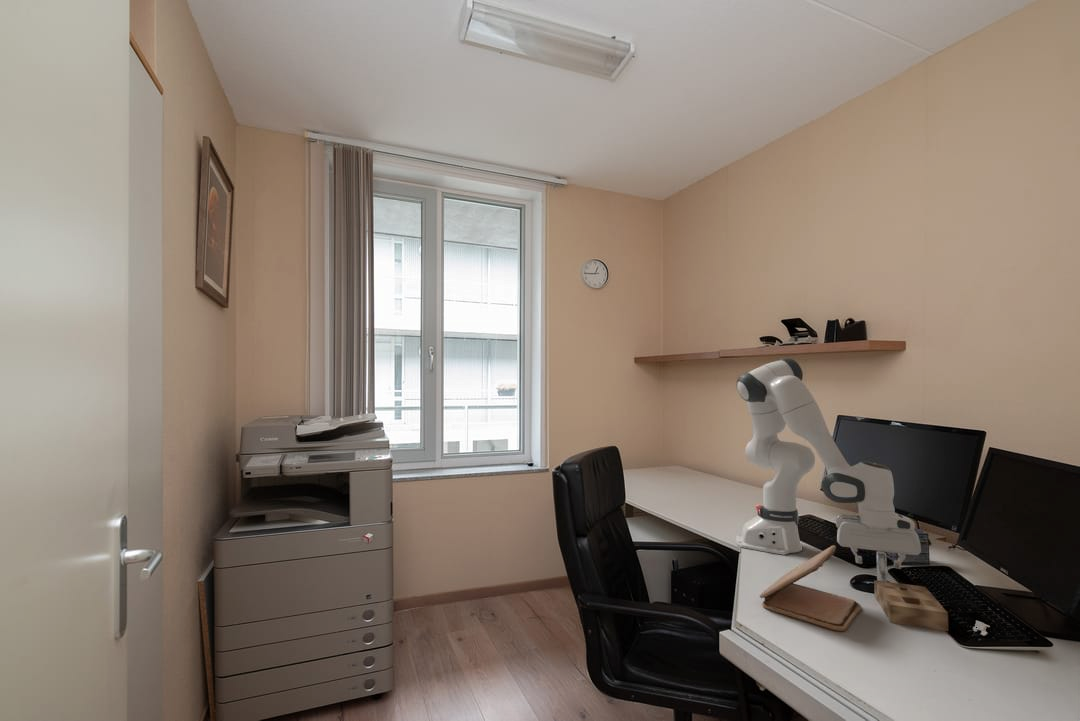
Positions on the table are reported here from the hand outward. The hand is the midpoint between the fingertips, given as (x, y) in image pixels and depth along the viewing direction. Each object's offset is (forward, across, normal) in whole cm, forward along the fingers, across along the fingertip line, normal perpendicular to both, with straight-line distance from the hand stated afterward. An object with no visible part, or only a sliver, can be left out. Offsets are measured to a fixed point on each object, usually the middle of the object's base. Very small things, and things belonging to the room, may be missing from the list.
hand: (877, 565), depth 143 cm
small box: (+8, +14, +32) cm, 36 cm away
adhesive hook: (+8, +19, -16) cm, 26 cm away
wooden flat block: (+8, +5, -12) cm, 15 cm away
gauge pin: (+8, +1, +1) cm, 8 cm away
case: (+8, -19, -19) cm, 28 cm away
